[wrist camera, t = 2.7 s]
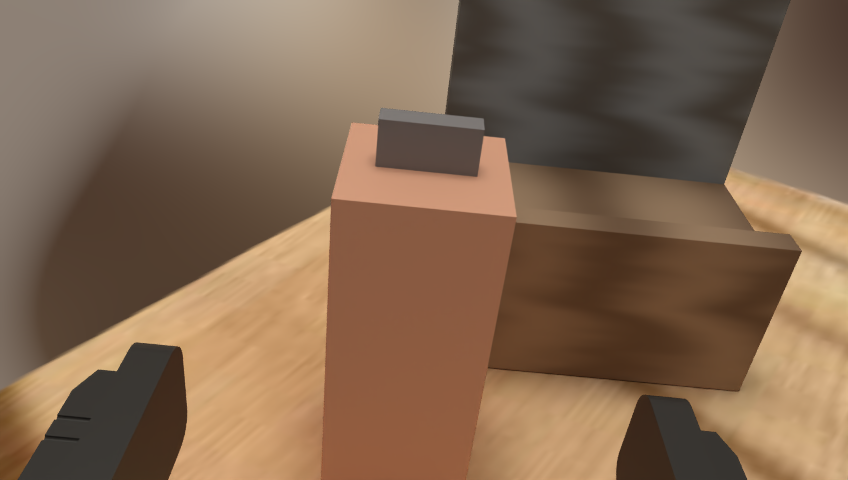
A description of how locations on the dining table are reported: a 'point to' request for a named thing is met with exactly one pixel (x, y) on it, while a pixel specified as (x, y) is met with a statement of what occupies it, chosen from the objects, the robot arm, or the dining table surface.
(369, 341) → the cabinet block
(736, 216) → the grey brown l-shaped block
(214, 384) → the dining table surface
